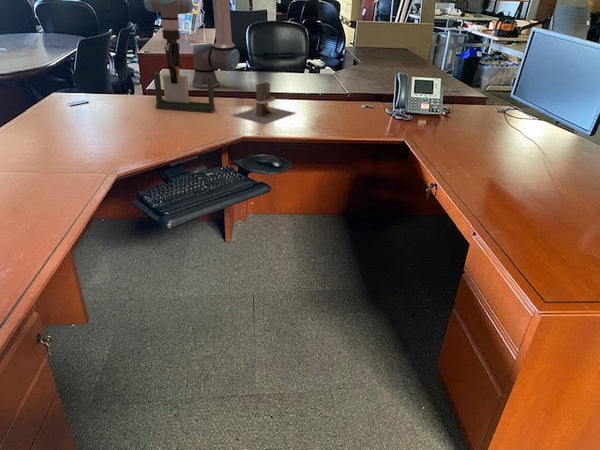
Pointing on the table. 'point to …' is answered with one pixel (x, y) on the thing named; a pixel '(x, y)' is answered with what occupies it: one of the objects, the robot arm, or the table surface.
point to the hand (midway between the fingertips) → (175, 82)
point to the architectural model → (263, 107)
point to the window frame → (184, 106)
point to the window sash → (176, 88)
